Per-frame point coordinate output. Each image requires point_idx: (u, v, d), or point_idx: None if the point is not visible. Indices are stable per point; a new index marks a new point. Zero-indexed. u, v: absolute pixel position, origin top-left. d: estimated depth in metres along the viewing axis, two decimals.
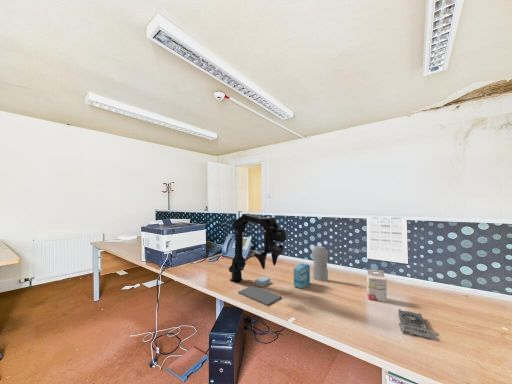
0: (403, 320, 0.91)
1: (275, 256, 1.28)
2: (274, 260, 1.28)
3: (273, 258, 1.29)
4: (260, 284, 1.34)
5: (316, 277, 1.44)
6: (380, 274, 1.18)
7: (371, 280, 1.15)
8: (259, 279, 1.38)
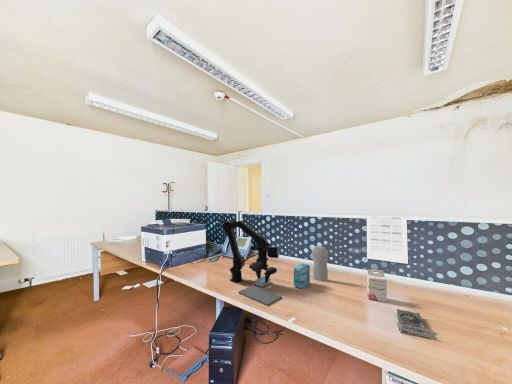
0: (401, 319, 0.92)
1: None
2: None
3: None
4: (260, 284, 1.34)
5: (316, 277, 1.44)
6: (380, 274, 1.18)
7: (371, 280, 1.15)
8: (259, 279, 1.38)
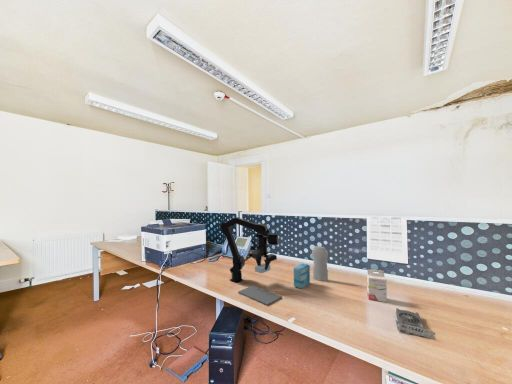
0: (400, 319, 0.92)
1: None
2: None
3: None
4: (260, 270, 1.34)
5: (316, 277, 1.44)
6: (380, 274, 1.18)
7: (371, 280, 1.15)
8: (259, 266, 1.38)
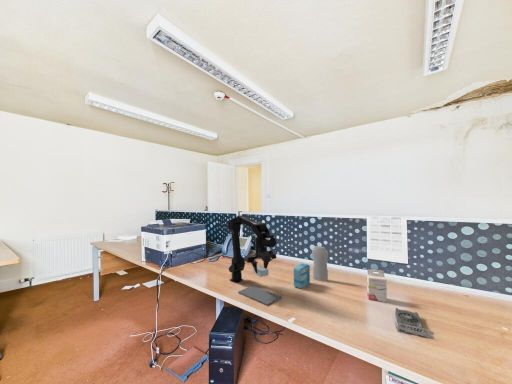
0: (399, 319, 0.93)
1: (266, 262, 1.28)
2: (265, 266, 1.28)
3: (264, 264, 1.29)
4: (267, 273, 1.24)
5: (316, 277, 1.44)
6: (380, 274, 1.18)
7: (371, 280, 1.15)
8: (260, 269, 1.25)
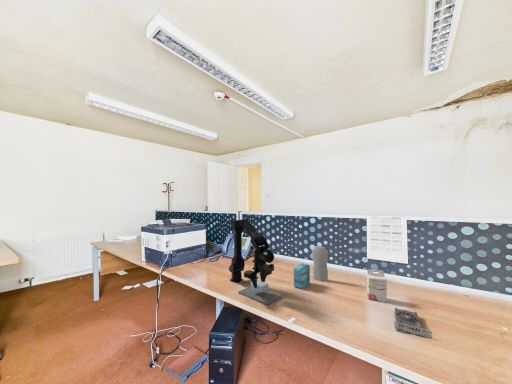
0: (398, 318, 0.93)
1: (263, 275, 1.24)
2: (262, 280, 1.24)
3: (261, 277, 1.25)
4: (267, 287, 1.20)
5: (316, 277, 1.44)
6: (380, 274, 1.18)
7: (371, 280, 1.15)
8: (260, 284, 1.20)
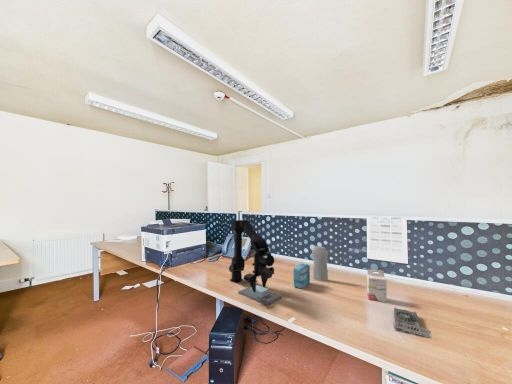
0: (397, 318, 0.93)
1: (265, 278, 1.24)
2: (264, 282, 1.24)
3: (263, 280, 1.25)
4: (267, 292, 1.20)
5: (316, 277, 1.44)
6: (380, 274, 1.18)
7: (371, 280, 1.15)
8: (260, 290, 1.20)
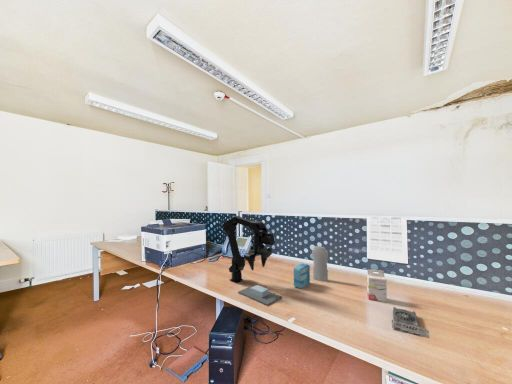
0: (395, 317, 0.94)
1: (264, 258, 1.36)
2: (263, 262, 1.36)
3: (262, 260, 1.37)
4: (267, 292, 1.20)
5: (316, 277, 1.44)
6: (380, 274, 1.18)
7: (371, 280, 1.15)
8: (260, 290, 1.20)
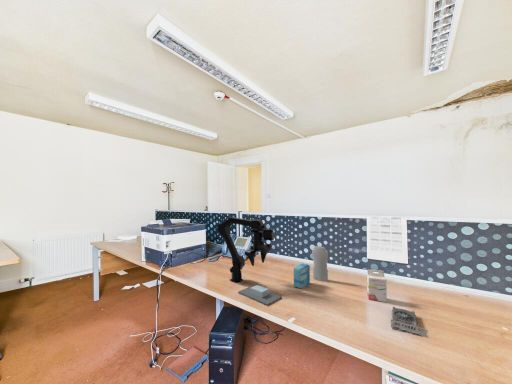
0: (394, 317, 0.94)
1: (264, 254, 1.42)
2: (263, 258, 1.42)
3: (262, 256, 1.43)
4: (267, 292, 1.20)
5: (316, 277, 1.44)
6: (380, 274, 1.18)
7: (371, 280, 1.15)
8: (260, 290, 1.20)
